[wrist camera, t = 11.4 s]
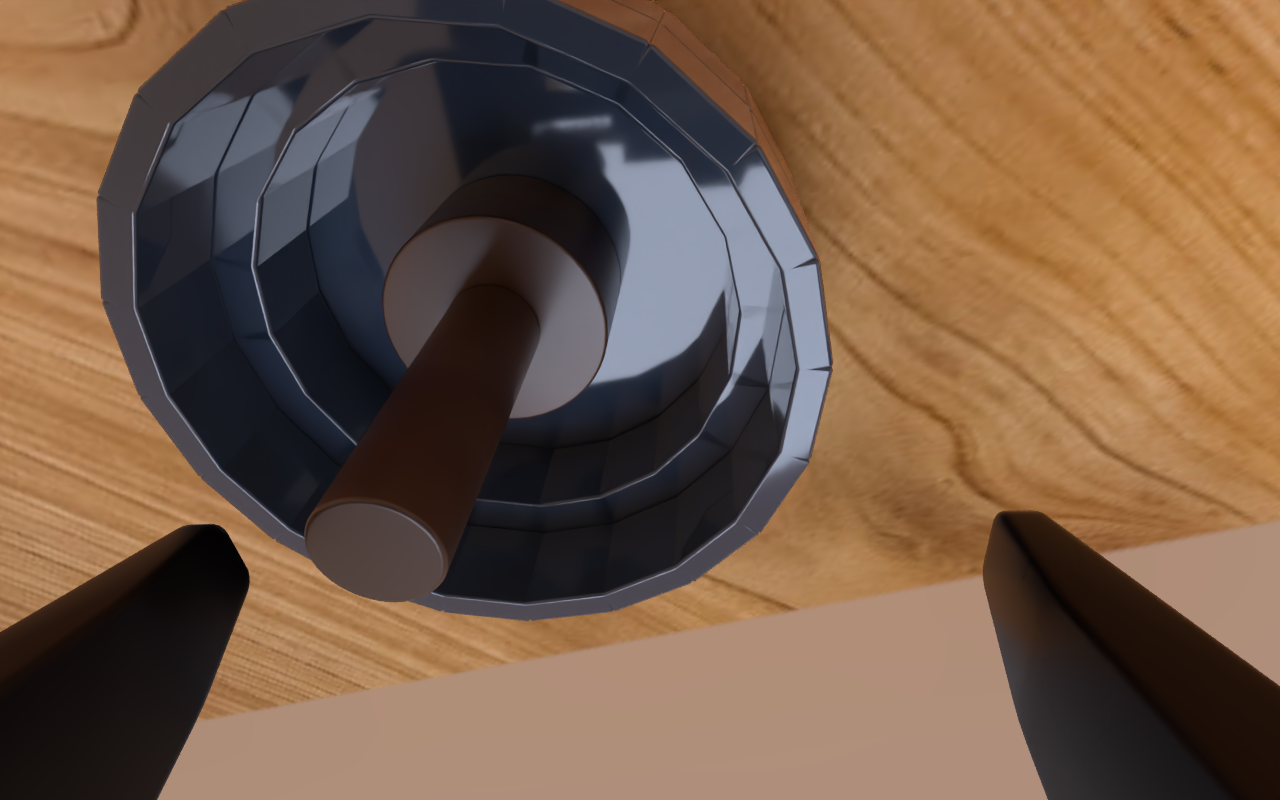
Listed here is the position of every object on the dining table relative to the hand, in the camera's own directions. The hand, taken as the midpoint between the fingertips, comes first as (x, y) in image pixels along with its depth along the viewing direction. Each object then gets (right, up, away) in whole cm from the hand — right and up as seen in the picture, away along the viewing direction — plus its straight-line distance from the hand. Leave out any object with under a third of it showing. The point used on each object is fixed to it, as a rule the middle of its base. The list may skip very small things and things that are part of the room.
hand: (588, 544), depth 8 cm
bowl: (-2, +5, +8) cm, 10 cm away
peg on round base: (-2, +4, +8) cm, 9 cm away
